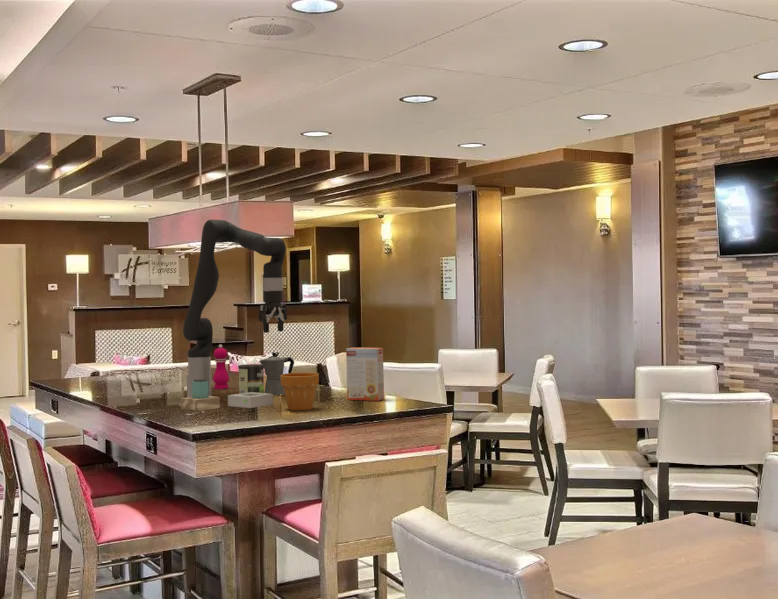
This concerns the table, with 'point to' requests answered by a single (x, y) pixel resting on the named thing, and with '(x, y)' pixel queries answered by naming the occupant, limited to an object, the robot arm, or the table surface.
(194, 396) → the plug
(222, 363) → the pepper mill
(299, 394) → the flower pot
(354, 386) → the cracker box
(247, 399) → the port
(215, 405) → the holster
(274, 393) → the coffeepot
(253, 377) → the coffee can
